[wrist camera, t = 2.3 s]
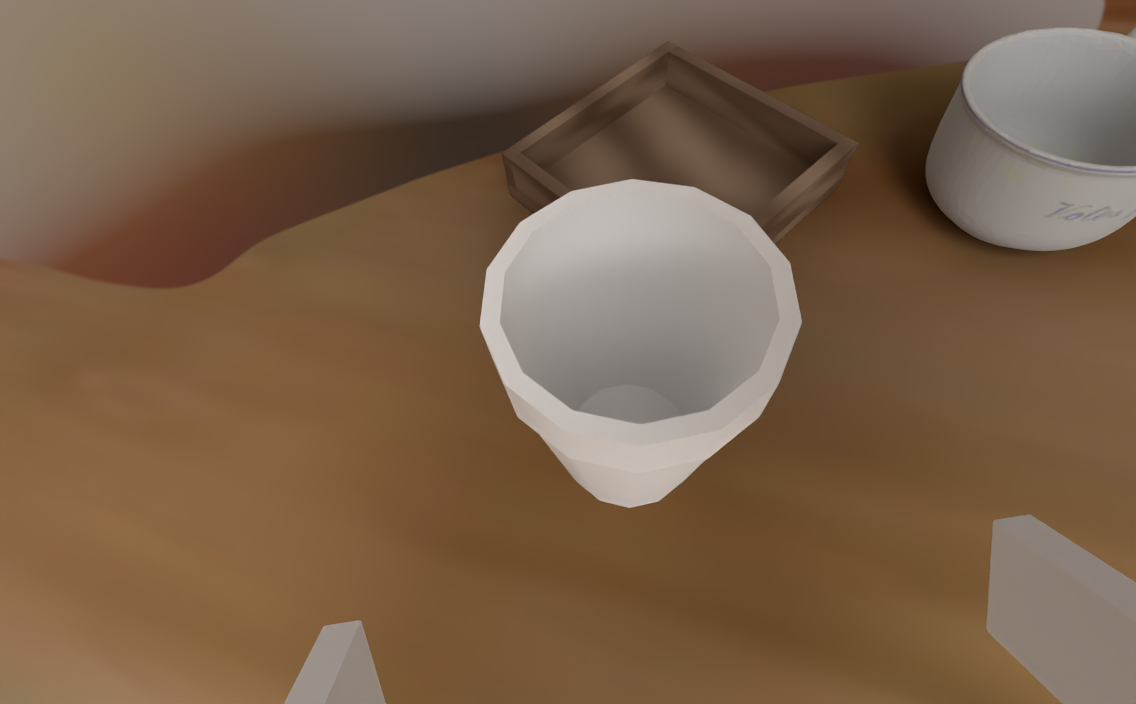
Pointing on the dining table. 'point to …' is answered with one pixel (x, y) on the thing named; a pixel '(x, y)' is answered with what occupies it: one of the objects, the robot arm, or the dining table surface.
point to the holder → (685, 143)
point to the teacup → (1040, 140)
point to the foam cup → (639, 331)
